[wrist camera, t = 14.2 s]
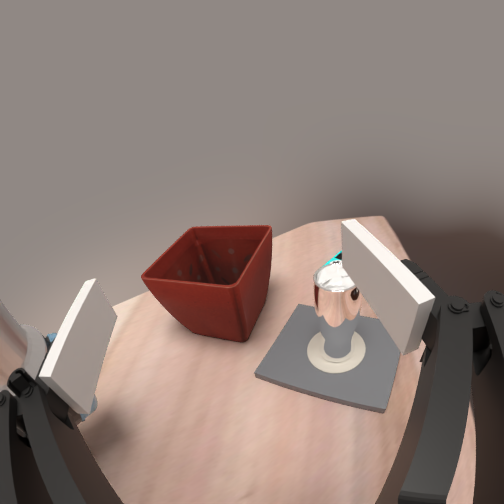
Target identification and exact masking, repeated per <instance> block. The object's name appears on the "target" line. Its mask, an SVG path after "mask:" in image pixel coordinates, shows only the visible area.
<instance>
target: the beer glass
mask: <svg viewBox="0 0 504 504" xmlns="http://www.w3.org/2000/svg"><path fill="white" fill-rule="evenodd" d="M313 280H314V288H313V297H314V309H315V314H316V318H317V322H318V325H319V328H320V332H321V342H320V346H319V351H320V354H321V356H322V357H323V358H324V359H325V360H327V361H330V362H343V361H345V360H347V359H349V358H350V357H351V356H352V355H353V353H354V351H355V342H354V331H355V328H356V325H357V322H358V319H359V316H360V311H361V305H362V294H361V292H360V291H359V290H358V288H357V287H356V285H355V284H354V283H353V281H352V280H351V279H350V277H349V276H348V274H347V273H346V272H345V270H344V269H343V268H342V263H332V264H328V265H325V266H323V267H321V268H319V269H318V270H317V271H316V272H315V274H314V277H313Z"/></svg>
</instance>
